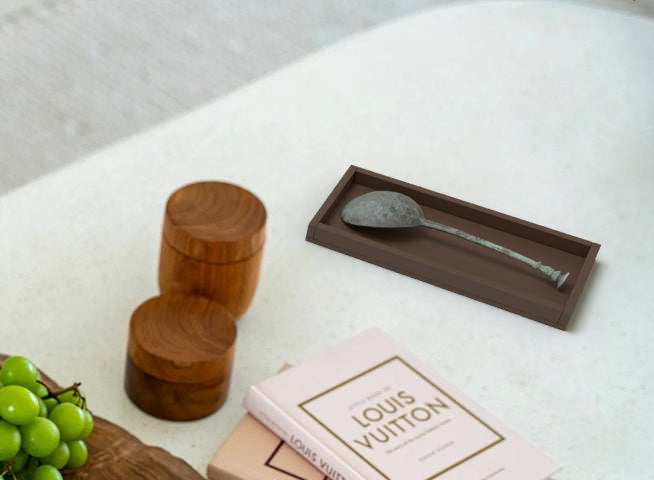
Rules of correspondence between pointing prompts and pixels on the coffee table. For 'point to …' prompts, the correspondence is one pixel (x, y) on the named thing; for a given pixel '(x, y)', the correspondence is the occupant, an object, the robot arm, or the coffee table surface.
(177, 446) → the coffee table surface
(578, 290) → the cutlery tray
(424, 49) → the coffee table surface
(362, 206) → the soupspoon
